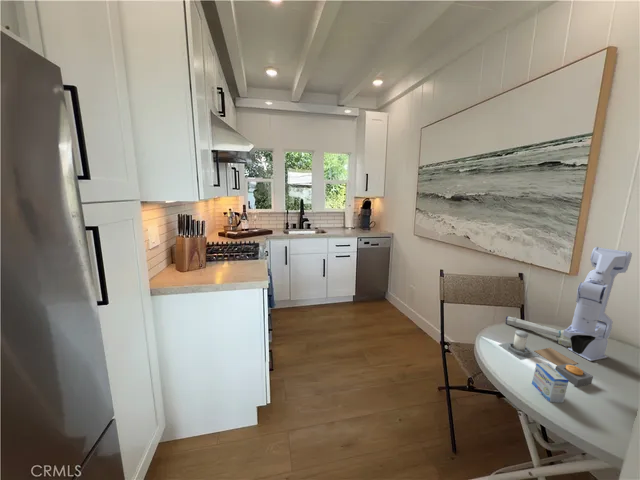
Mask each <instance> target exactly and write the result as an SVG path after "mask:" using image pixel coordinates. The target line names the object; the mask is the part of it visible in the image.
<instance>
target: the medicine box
mask: <svg viewBox="0 0 640 480" xmlns="http://www.w3.org/2000/svg"><path fill="white" fill-rule="evenodd" d="M555 368H556V367H554V366H552V365H551V364H550V363H547V362H546V363H545V362H536V364H535V369H534V371H533V375H532V380H531V384H532V386H533V387H534V388H536V389H537V391H538V392H539V393H540V394H541V395H542V396H543V397H544V398H545V399H546V401H548V402H549V403H558V404H560V403H563V404H564V400H565V397H566V392H567V389H568V384H569V383H570V382H569V380H568V379H566V378H565V377H564V376H563V375H562V374H560V373H559V372H558V371H557V370H556V369H555Z"/></svg>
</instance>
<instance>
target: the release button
mask: <svg viewBox="0 0 640 480" xmlns="http://www.w3.org/2000/svg"><path fill="white" fill-rule="evenodd" d="M565 368H566V370H567V371H569V372H570V373H572V374H574V375H575V376H579V375H583V373H584V372H583V371H584V370H583V369H581V368H579V367H578V366H576V365H574V366H573V365H566V367H565ZM582 370H583V371H582Z"/></svg>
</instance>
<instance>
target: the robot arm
mask: <svg viewBox="0 0 640 480" xmlns="http://www.w3.org/2000/svg"><path fill="white" fill-rule="evenodd" d="M632 256H633V253H632V252H631V251H630V250H629V251H625V250H619V249H613V248H605V247H599V246H595V247H593V249H592V251H591V255H590V263H591V266H592V267H593V268H595V269H592V270H590V271H589V272H588V273H587V274H586V277H585V279H584V281H583V282H579V284H578V286H577V289H576V299H575V302H576V306H575V308H574V313H573V316H572V317H573V318H572V320H571V321H572V322H571V324H570V325H569V326H568V327H567V328H565V329H563V330H564V331H563V335H564V336H566V337H568V338H570V339H571V343H572V347H571V346H570V347H568V348H567V349H568V350H569V351H570V352H572V353H575V355H578V356H580V357H582V358H583V359H585V360H587V361H589V362H593V361H598V360H602V359H606V358H608V356H607V355H605V354H606V350H607V347H608V343H609V342H608V339H609V337H610V336H611V332H612V329H613V328H612V327H613V323H614V321H613V319H612V317H610V316H608V315H607V313H606V309H607V307H608V302H609V300H610V296H611V292H612V288H613V286H614V281H615V278H616V277H617V276H618V274H623V273H624V274H625V273H627V271H628V269H629V266H630V264H631V261H632Z"/></svg>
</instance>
